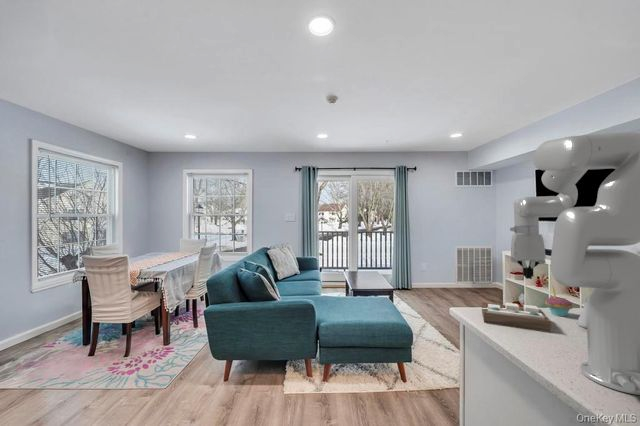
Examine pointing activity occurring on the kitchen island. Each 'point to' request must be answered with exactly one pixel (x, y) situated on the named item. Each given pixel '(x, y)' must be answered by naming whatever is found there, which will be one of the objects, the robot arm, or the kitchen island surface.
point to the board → (516, 318)
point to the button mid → (511, 306)
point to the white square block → (493, 306)
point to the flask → (583, 316)
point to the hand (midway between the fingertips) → (528, 278)
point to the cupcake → (558, 305)
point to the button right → (531, 308)
